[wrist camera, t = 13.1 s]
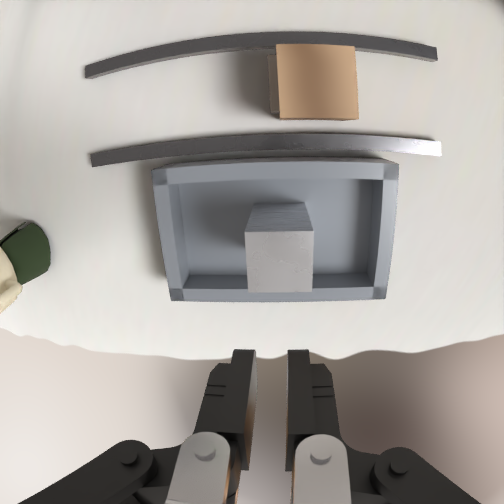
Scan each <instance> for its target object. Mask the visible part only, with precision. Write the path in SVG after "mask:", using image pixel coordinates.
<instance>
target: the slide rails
mask: <svg viewBox="0 0 504 504" xmlns="http://www.w3.org/2000/svg"><path fill="white" fill-rule="evenodd" d="M276 44H324V45H342V46H354V47H355V51H364V52H373V53H382V54H389V55H396V56H403V57H409V58H414V59H420V60H425V61H430V62H434V61H437V60H438V58H437V50H436V47H432V46H427V45H422V44H418V43H412V42H407V41H401V40H395V39H389V38H382V37H374V36H366V35H356V34H345V33H329V32H261V33H245V34H233V35H223V36H215V37H207V38H200V39H193V40H187V41H181V42H176V43H170V44H165V45H160V46H156V47H151V48H147V49H143V50H138V51H134V52H131V53H127V54H123V55H119V56H116V57H112V58H109V59H106V60H102V61H99V62H96V63H93V64H90V65H87V66H85V78H88V79H93V78H96V77H99V76H103V75H106V74H110V73H114V72H117V71H121V70H125V69H129V68H133V67H137V66H142V65H146V64H151V63H155V62H160V61H166V60H171V59H177V58H183V57H189V56H195V55H203V54H210V53H219V52H228V51H240V50H254V49H276ZM278 149H341V150H369V151H387V152H402V153H414V154H425V155H435V156H441V142H438V141H430V140H421V139H411V138H400V137H388V136H373V135H353V134H259V135H239V136H224V137H211V138H200V139H189V140H180V141H171V142H163V143H155V144H148V145H141V146H134V147H128V148H122V149H116V150H110V151H104V152H99V153H94V154H91V163H92V167H97V166H103V165H109V164H116V163H122V162H129V161H137V160H144V159H152V158H161V157H170V156H180V155H190V154H202V153H215V152H230V151H249V150H278Z"/></svg>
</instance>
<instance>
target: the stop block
mask: <svg viewBox="0 0 504 504" xmlns="http://www.w3.org/2000/svg"><path fill="white" fill-rule="evenodd" d="M313 246H314V230H313V227H312V224H311V221H310V217H309V214H308V211H307V208H306V205H305V203H258V204H254V205H253V208H252V211H251V214H250V217H249V220H248V223H247V226H246V229H245V248H246V264H247V280H248V293H269V292H312V278H313Z"/></svg>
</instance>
